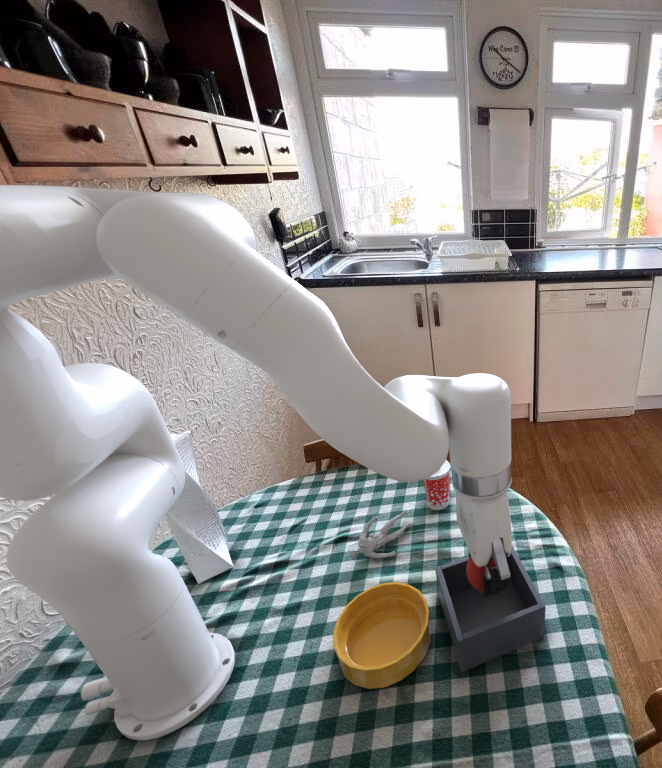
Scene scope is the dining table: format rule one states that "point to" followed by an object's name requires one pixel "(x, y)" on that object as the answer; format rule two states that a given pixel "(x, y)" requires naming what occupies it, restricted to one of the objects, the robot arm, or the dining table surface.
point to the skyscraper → (197, 520)
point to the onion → (476, 573)
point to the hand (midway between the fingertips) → (486, 572)
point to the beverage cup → (438, 488)
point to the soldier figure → (378, 539)
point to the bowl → (382, 635)
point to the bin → (489, 613)
